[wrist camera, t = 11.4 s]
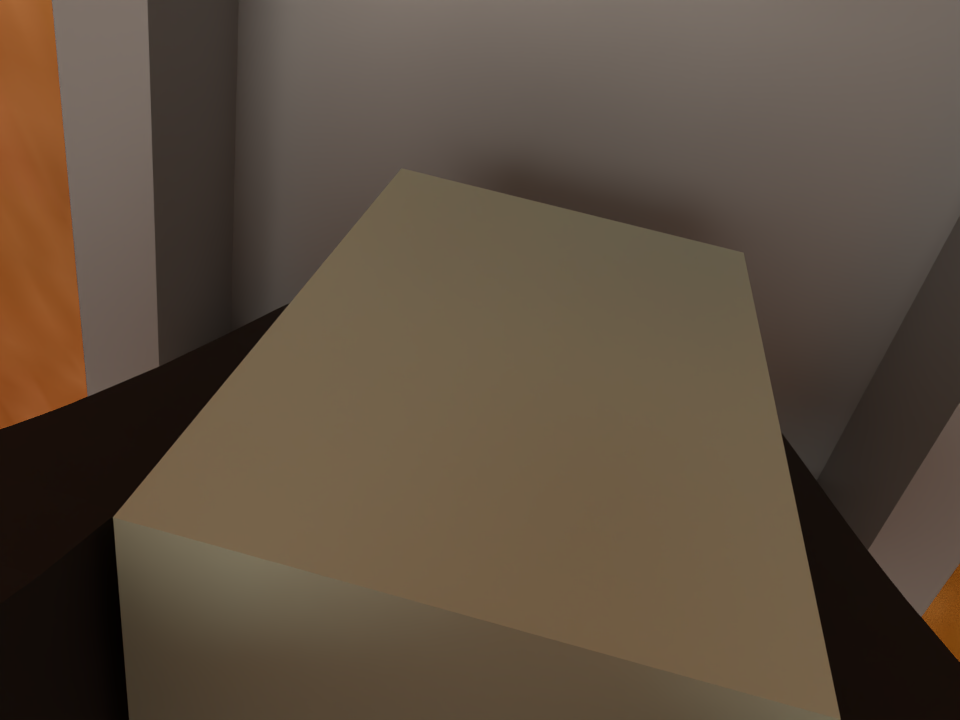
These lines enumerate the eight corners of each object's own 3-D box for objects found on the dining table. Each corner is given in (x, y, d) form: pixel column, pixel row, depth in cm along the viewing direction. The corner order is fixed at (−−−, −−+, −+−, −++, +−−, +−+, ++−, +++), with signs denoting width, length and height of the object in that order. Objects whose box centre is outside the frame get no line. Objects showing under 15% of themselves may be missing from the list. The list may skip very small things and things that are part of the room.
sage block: (642, 510, 11) (626, 1023, 6) (364, 436, 12) (140, 874, 7) (743, 252, 9) (841, 721, 4) (400, 168, 10) (114, 515, 5)
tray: (843, 514, 16) (886, 665, 13) (193, 342, 16) (92, 449, 14) (1622, -833, 7) (2303, -1320, 4) (188, -1070, 8) (-95, -1625, 5)
